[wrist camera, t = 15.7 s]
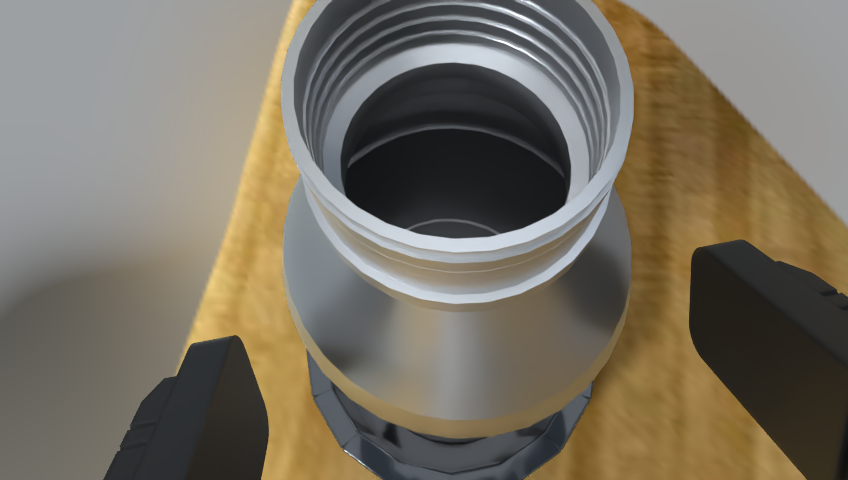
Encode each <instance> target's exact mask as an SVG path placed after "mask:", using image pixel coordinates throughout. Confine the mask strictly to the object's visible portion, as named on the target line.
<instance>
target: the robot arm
mask: <svg viewBox="0 0 848 480" xmlns="http://www.w3.org/2000/svg"><path fill="white" fill-rule="evenodd" d="M689 328H690V334H691V338H692V341H693V344H694V346H695V348H696V350H697V352H698V354H699V355H700V357H701V358H702V359H703V360H704V362H705V363H706V364H707V365H708V366H709V367H710V368H711V370H712V371H713V372H714V373H715V374H716V375H717V377H718V378H719V379H720V380H721V381H722V382H723V383H724V385H725V386H726V387H727V388H728V389H729V390H730V392H731V393H732V394H733V395H734V396H735V397H736V398H737V400H738V401H739V402H740V403H741V404H742V405H743V406H744V408H745V409H746V410H747V411H748V412H749V413H750V415H751V416H752V417H753V418H754V419H755V420H756V421H757V423H758V424H759V425H760V426H761V427H762V428H763V429H764V431H765V432H766V433H767V434H768V435H769V436H770V438H771V439H772V440H773V441H774V442H775V443H776V444H777V446H778V447H779V448H780V449H781V450H782V451H783V452H784V454H785V455H786V456H787V457H788V458H789V459H790V461H791V462H792V463H793V464H794V465H795V466H796V467H797V469H798V470H799V471H800V472H801V473H802V474H803V475H804V477H805V478H806V479H807V480H848V297H847V296H845V295H844V294H842V293H839V294H838V293H837V289H835V288H834V287H832V286H831V285H829V284H828V283H826V282H825V281H823V280H822V279H820V278H819V277H818V276H816V275H815V274H813V273H811V272H808V271H806V270H803V269H800V268H798V267H795V266H792V265H789V264H787V263H784V262H781V261H777V262H775V261H774V260H772V259H771V258H769V257H768V256H767V255H765V254H764V253H762V252H761V251H760V250H758V249H757V248H755V247H754V246H753V245H751V244H750V243H748V242H747V241H745V240H735V241H730V242H725V243H719V244H714V245H709V246H704V247H699V248H697V249H696V250H695V251H694V253H693V255H692V261H691V284H690V310H689ZM130 428H131V429H130V430H128V431H127V433H126V435H125V437H124V439H123V441H122V443H121V445H120V449H121V450H120V451H118V452H117V453H116V455H115V457H114V459H113V461H112V463H111V465H110V467H109V469H108V471H107V473H106V476H105V477H104V479H103V480H261V476H262V471H263V466H264V460H265V455H266V450H267V444H268V437H269V425H268V416H267V411H266V407H265V403H264V400H263V398H262V395H261V392H260V389H259V386H258V384H257V381H256V378H255V375H254V372H253V369H252V367H251V364H250V361H249V358H248V355H247V352H246V350H245V347H244V344H243V342H242V341H241V339H240V338H239V337H238V336H236V335H234V336H229V337H224V338H219V339H213V340H208V341H203V342H198V343H193V344H192V345H191V346H190V347H189V349H188V351H187V353H186V356H185V358H184V360H183V363H182V365H181V367H180V369H179V372H178V374H177V376H175V377H170V378H165V379H163V380H162V381H161V382H160V384H158V385H157V387H155V389H154V390H153V391H152V392H151V393H150V394H149V395H148V396H147V397H146V398H145V399H144V400H143V401H142V402H141V404H140V406H139V408H138V411H137V412H136V414H135V416H134V419H133V421H132V423H131V425H130Z"/></svg>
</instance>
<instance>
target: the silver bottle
mask: <svg viewBox="0 0 848 480" xmlns="http://www.w3.org/2000/svg"><path fill="white" fill-rule="evenodd" d="M281 110H282V115H283V122H284V127H285V131H286V136H287V140H288V145H289V149H290V152H291V154H292V156H293V158H294V160H295V162H296V164H297V167H298V169H299V171H300V173H301V174H300V176H299V179H298V181H297V183H296V186H295V188H294V190H293V193H292V195H291V197H290V201H289V206H288V211H287V216H286V220H285V225H284V232H283V282H284V287H285V292H286V297H287V302H288V307H289V311H290V314H291V316H292V319H293V321H294V323H295V326H296V328H297V330H298V333H299V335H300V337H301V340H302V342H303V344H304V346H305V347H306V348H307V350H308V351H309V353H310V354H311V356H312V357H313V359H314V360H315V362H316V363H317V365H318V366H319V368H320V369H321V370H322V372H323V373H324V374H325V375H326V376H327V377H328V378H329V379H330V380H331V381H332V382H333V383H334V384H335V385H336V386H337V387H338V388H339V389H340V390H341V391H342V392H343V393H344V394H345V395H346V396H347V397H348V398H350V399H351V400H353V401H354V402H356V403H357V404H359V405H360V406H362V407H364V408H365V409H367V410H368V411H370V412H371V413H373V414H374V415H376V416H378V417H379V418H381V419H383V420H386V421H388V422H391V423H393V424H396V425H399V426H401V427H404V428H405V429H407V430H408V431H410V432H411V433H413V434H414V435H417V436H419V437H422V438H425V439H427V440H430V441H433V442H439V443H445V444H465V443H471V442H474V441H478V440H482V439H485V438H487V437H492V436H496V435H500V434H504V433H508V432H512V431H515V430H519V429H523V428H527V427H529V426H531V425H533V424H535V423H537V422H539V421H541V420H542V419H544V418H546V417H548V416H550V415H552V414H554V413H556V412H558V411H560V410H561V409H562V408H563V407H565V406H566V405H567V404H568V403H569V402H571V401H572V400H573V399H574V398H575V397H576V396H578V395H579V394H580V393H581V392H582V391H584V390H585V389H586V388H587V387H588V386H589V385H590V383H591V382H592V381H593V379H594V378H595V377H596V376H597V374H598V373H599V372H600V370H601V369H602V368H603V366H604V365H605V364H606V362H607V361H608V360H609V358H610V356H611V354H612V352H613V349H614V347H615V345H616V343H617V341H618V339H619V336H620V334H621V332H622V330H623V328H624V324H625V319H626V314H627V310H628V305H629V300H630V296H631V250H632V243H631V238H630V234H629V229H628V224H627V219H626V214H625V210H624V208H623V205H622V203H621V201H620V198H619V196H618V193H617V191H616V189H615V186H614V184H613V182H614V180H615V178H616V176H617V174H618V172H619V170H620V168H621V166H622V164H623V162H624V160H625V155H626V151H627V147H628V143H629V139H630V134H631V130H632V123H633V119H634V87H633V82H632V78H631V74H630V69H629V65H628V60H627V57H626V54H625V52H624V50H623V48H622V46H621V44H620V42H619V40H618V37H617V35H616V33H615V31H614V29H613V28H612V26H611V25H610V24H609V22H608V21H607V20H606V18H605V17H604V16H603V14H602V13H601V11H600V10H599V9H598V7H597V6H596V5H595V4H594V3H593V2H592V1H591V0H317V1H316V2H315V4H314V5H313V6H312V8H311V9H310V10H309V12H308V13H307V14H306V16H305V17H304V18H303V20H302V21H301V22H300V24H299V26H298V28H297V30H296V33H295V35H294V37H293V39H292V41H291V43H290V45H289V48H288V50H287V54H286V59H285V63H284V68H283V72H282V76H281Z"/></svg>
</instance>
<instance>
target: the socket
mask: <svg viewBox="0 0 848 480" xmlns="http://www.w3.org/2000/svg"><path fill="white" fill-rule="evenodd" d="M306 352H307V360H308V368H309V376H310V385H311V393H312V396H313V397H314V398H313V400H314V402H315V404H316V406H317V407H318V409H319V411H320V413H321V414H322V416H323V418H324V420H325V421H326V423H327V425H328V427H329V428H330V430H331V432H332V434H333V435H334V437H335V439H336V440H337V442H338V444H339V446H340V447H341V448H343V451H344V452H345V453H347V454H348V455H350V456H351V457H352V458H354V459H355V460H356V461H358V462H359V463H360V464H362V465H363V466H364V467H366V468H367V469H368V470H370V471H371V472H372V473H374V474H375V475H376V476H378V477H379V478H380V479H382V480H523V479H524V478H526V477H527V476H529V475H530V474H531V473H533V472H534V471H535V470H537V469H538V468H540V467H541V466H542V465H544V464H545V463H546V462H548V461H549V460H551V459H552V458H553V457H555V456H556V455H557V454H559V453H560V452H561V450H562V449H563V448H564V446H565V444H566V442H567V441H568V439H569V437H570V435H571V434H572V432H573V430H574V428H575V427H576V425H577V423H578V422H579V420H580V418H581V416H582V415H583V413H584V411H585V409H586V408H587V406H588V404H589V402H590V399H591V398H592V390H593V381H594V379H593V381H592V382H591V383H590V385H589V386H588V387H587V388H586V389H585V390H584V391H582V392H581V393H580V394H579V395H578V396H576V397H575V398H574V399H573V400H572V401H571V402H569V403H568V404H567V405H566V406H565V407H563V408H562V409H561V410H560V411H558V412H556V413H554V414H552V415H550V416H548V417H546V418H544V419H542V420H541V421H539V422H537V423H535V424H533V425H531V426H529V427H527V428H523V429H519V430H515V431H512V432H508V433H504V434H500V435H496V436H492V437H487V438H485V439H482V440H478V441H474V442H471V443H465V444H445V443H439V442H433V441H430V440H427V439H425V438H422V437H419V436H417V435H414V434H413V433H411V432H410V431H408V430H407V429H405V428H404V427H401V426H399V425H396V424H393V423H391V422H388V421H386V420H383V419H381V418H379V417H378V416H376V415H374V414H373V413H371V412H370V411H368V410H367V409H365V408H364V407H362V406H360V405H359V404H357V403H356V402H354V401H353V400H351V399H350V398H348V397H347V396H346V395H345V394H344V393H343V392H342V391H341V390H340V389H339V388H338V387H337V386H336V385H335V384H334V383H333V382H332V381H331V380H330V379H329V378H328V377H327V376H326V375H325V374H324V373H323V372H322V370H321V369H320V368H319V366H318V365H317V363H316V362H315V360H314V359H313V357H312V356H311V354H310V353H309V351H308V350H307V348H306Z"/></svg>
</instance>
